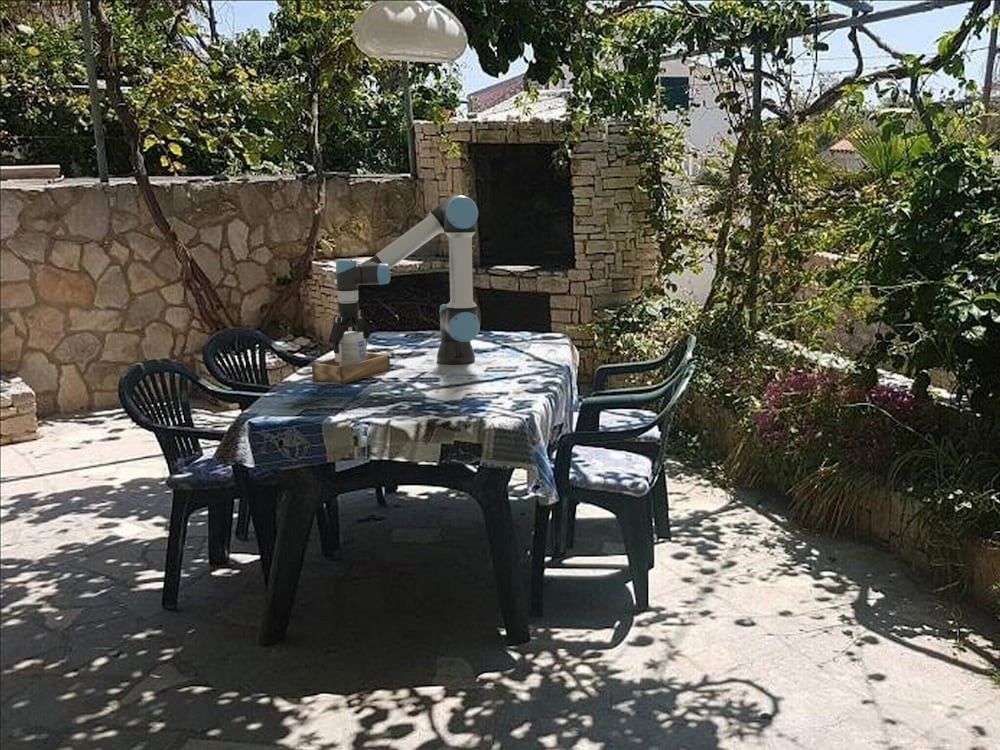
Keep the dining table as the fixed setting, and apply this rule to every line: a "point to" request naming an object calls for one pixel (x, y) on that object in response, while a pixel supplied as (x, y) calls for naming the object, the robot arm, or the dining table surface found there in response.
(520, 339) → the dining table surface
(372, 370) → the walled box
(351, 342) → the supplement tub
